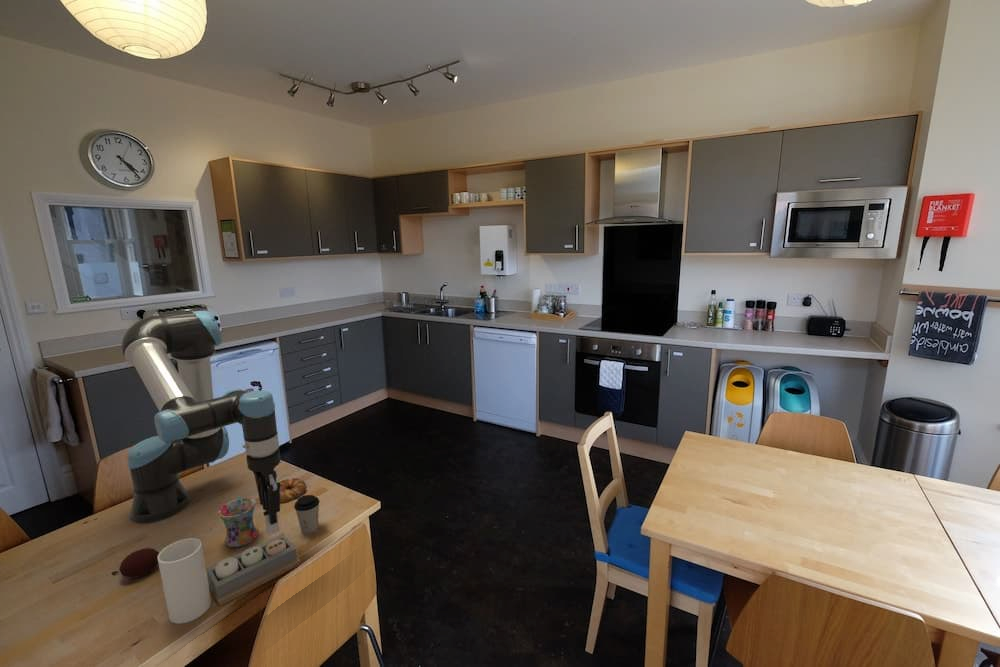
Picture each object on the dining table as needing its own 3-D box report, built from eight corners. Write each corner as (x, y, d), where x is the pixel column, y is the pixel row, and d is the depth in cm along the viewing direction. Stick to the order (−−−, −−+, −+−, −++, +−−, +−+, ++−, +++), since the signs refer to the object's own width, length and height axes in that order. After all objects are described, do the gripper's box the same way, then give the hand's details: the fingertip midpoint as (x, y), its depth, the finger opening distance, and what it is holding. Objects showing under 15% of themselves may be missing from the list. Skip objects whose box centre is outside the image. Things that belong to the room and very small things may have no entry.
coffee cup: (327, 525, 135) (324, 496, 133) (309, 539, 128) (305, 508, 126) (310, 519, 138) (307, 490, 135) (291, 533, 131) (288, 502, 129)
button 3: (264, 556, 120) (262, 545, 119) (282, 547, 123) (281, 536, 122) (270, 564, 116) (269, 553, 116) (289, 555, 120) (288, 544, 119)
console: (206, 580, 113) (203, 565, 113) (283, 543, 127) (281, 530, 126) (219, 606, 105) (217, 591, 104) (300, 564, 118) (298, 550, 118)
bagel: (297, 504, 146) (295, 494, 145) (264, 504, 146) (262, 494, 146) (312, 484, 158) (311, 475, 157) (282, 484, 158) (281, 475, 157)
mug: (256, 546, 126) (251, 513, 124) (219, 553, 123) (213, 519, 121) (264, 521, 137) (260, 490, 135) (230, 527, 134) (225, 496, 132)
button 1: (214, 575, 111) (212, 564, 111) (235, 565, 115) (234, 554, 114) (219, 585, 108) (217, 574, 107) (241, 575, 111) (239, 563, 111)
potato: (122, 570, 117) (118, 551, 116) (161, 557, 122) (157, 538, 121) (121, 587, 111) (116, 567, 110) (161, 572, 116) (157, 552, 115)
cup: (183, 596, 108) (172, 539, 105) (218, 594, 109) (208, 536, 106) (161, 625, 100) (148, 563, 97) (199, 622, 101) (187, 561, 98)
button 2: (240, 563, 115) (238, 552, 115) (259, 554, 119) (258, 543, 118) (246, 573, 112) (244, 561, 111) (266, 563, 115) (264, 552, 115)
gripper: (238, 447, 115) (249, 527, 120) (255, 465, 106) (266, 550, 111) (269, 438, 120) (278, 515, 126) (287, 454, 111) (297, 536, 117)
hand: (273, 531), depth 118 cm, fingers closed
